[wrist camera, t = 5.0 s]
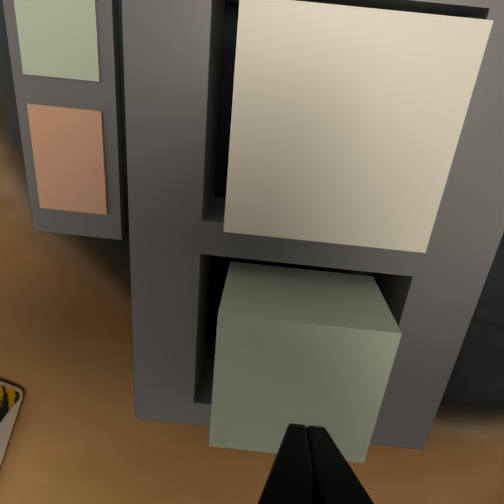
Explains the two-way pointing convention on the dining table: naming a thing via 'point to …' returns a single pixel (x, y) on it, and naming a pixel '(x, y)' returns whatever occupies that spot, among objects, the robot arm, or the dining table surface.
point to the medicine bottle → (8, 412)
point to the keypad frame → (282, 249)
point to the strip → (69, 113)
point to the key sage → (300, 357)
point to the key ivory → (346, 120)
